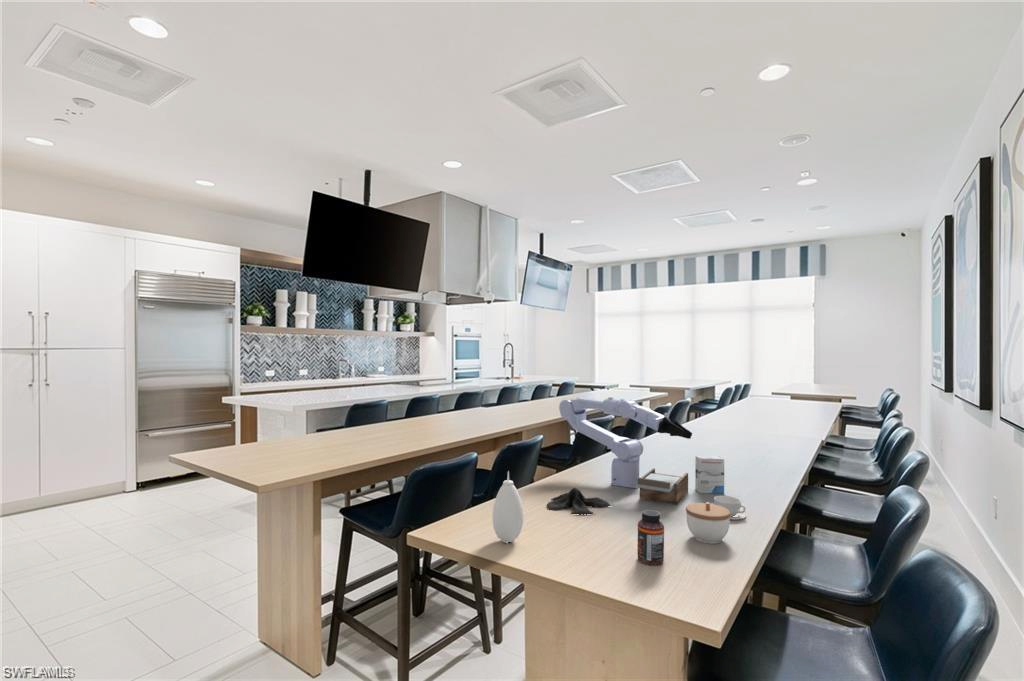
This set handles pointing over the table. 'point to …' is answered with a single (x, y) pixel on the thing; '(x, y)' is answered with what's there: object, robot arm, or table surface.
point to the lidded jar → (707, 521)
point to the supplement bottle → (650, 538)
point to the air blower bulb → (507, 512)
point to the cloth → (576, 502)
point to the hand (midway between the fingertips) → (686, 434)
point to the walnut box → (666, 497)
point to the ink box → (709, 474)
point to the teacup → (731, 506)
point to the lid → (658, 482)
